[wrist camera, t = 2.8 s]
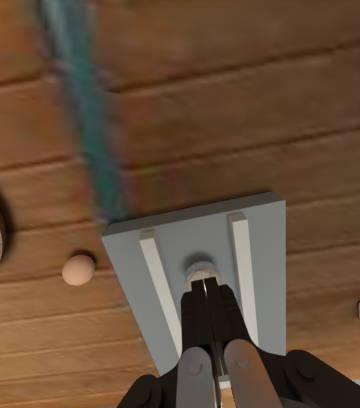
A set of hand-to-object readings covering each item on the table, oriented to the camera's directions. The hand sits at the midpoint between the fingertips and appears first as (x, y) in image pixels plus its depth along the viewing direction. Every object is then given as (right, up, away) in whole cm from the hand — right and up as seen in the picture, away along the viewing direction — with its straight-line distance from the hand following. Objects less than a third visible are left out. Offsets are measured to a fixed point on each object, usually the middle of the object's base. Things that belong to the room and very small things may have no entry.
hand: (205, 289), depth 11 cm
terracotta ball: (-14, -3, +12) cm, 19 cm away
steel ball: (+1, -3, +9) cm, 10 cm away
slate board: (+2, -8, +16) cm, 18 cm away
